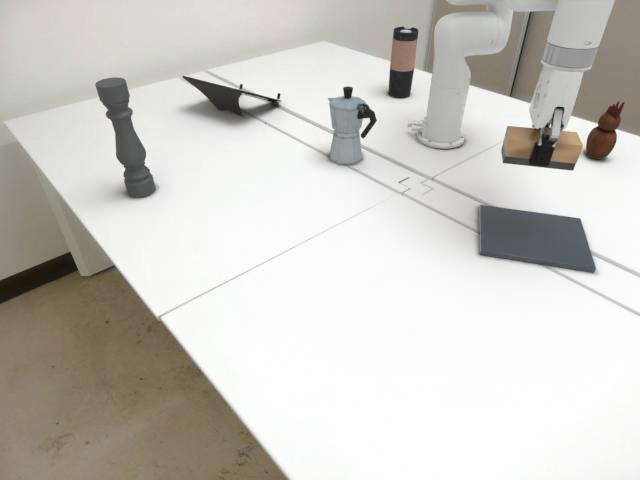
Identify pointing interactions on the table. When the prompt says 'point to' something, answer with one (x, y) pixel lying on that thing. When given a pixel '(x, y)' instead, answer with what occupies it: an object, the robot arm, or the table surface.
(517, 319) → the table surface
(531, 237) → the slate board
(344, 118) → the coffee maker
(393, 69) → the travel mug
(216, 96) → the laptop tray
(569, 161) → the scrub brush
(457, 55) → the robot arm
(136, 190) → the candle holder
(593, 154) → the wooden figurine
